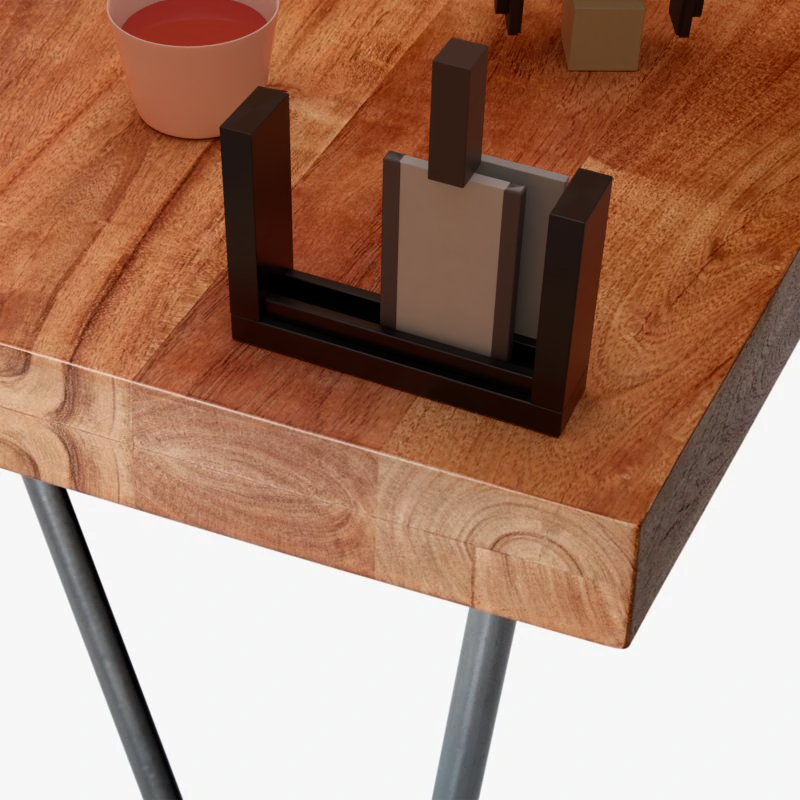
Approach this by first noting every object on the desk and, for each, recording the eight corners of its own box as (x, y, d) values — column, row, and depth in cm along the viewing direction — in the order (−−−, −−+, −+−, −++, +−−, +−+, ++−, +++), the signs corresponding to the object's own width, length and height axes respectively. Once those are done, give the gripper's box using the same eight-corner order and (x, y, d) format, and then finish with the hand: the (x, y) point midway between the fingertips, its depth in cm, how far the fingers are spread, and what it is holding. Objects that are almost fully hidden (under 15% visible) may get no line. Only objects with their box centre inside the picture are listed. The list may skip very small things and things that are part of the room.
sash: (373, 338, 74) (377, 47, 64) (391, 313, 75) (398, 23, 65) (501, 376, 72) (526, 83, 62) (517, 349, 74) (544, 58, 64)
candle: (163, 51, 95) (155, -51, 91) (308, 83, 93) (306, -19, 89) (87, 131, 89) (74, 26, 85) (240, 167, 87) (235, 61, 82)
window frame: (231, 339, 76) (218, 126, 69) (266, 294, 79) (258, 84, 71) (559, 438, 72) (585, 223, 64) (585, 388, 74) (613, 175, 67)
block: (627, 35, 98) (635, -27, 95) (637, 71, 95) (645, 8, 92) (560, 35, 98) (566, -27, 95) (567, 71, 95) (574, 8, 92)
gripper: (468, -253, 80) (448, 57, 92) (820, -245, 81) (756, 61, 93) (459, -309, 86) (441, -10, 97) (788, -301, 87) (732, -5, 98)
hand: (595, 24), depth 95 cm, fingers open, 9 cm apart
